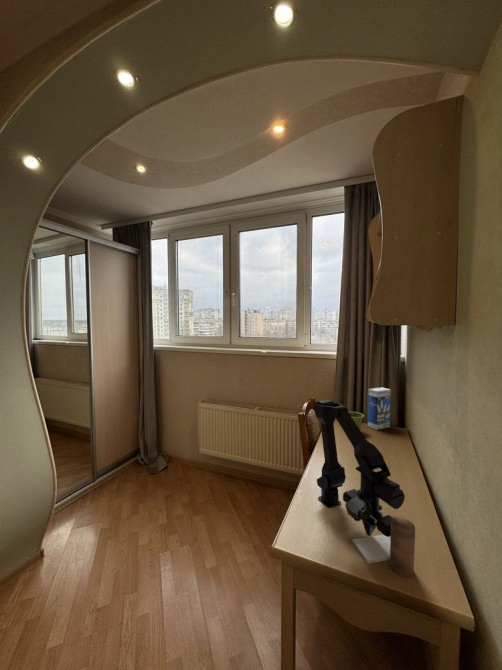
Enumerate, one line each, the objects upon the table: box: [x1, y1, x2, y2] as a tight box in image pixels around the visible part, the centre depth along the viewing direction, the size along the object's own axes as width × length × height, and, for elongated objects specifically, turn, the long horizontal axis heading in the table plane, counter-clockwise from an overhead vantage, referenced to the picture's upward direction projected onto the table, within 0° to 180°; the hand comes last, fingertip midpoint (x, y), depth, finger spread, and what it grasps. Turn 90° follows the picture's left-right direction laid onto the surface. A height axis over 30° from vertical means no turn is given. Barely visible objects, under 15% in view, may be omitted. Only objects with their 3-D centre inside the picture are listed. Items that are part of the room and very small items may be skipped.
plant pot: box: [348, 411, 365, 430], centre depth 175 cm, size 12×12×11 cm
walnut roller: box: [389, 516, 416, 579], centre depth 78 cm, size 6×6×13 cm
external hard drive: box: [351, 534, 391, 565], centre depth 84 cm, size 2×8×12 cm
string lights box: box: [367, 386, 392, 431], centre depth 184 cm, size 13×8×26 cm, turn 115°
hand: (368, 535), depth 89 cm, fingers closed
